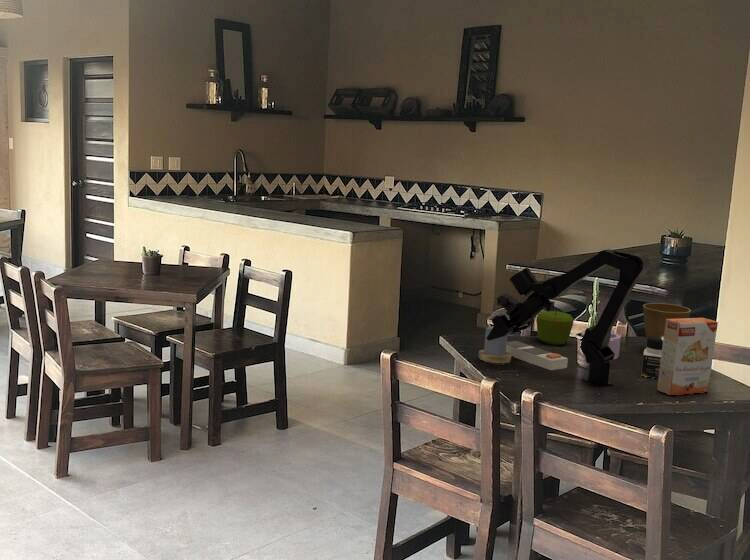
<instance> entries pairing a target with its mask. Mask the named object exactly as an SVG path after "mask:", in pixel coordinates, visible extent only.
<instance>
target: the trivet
mask: <svg viewBox="0 0 750 560" xmlns="http://www.w3.org/2000/svg"><path fill="white" fill-rule="evenodd" d="M478 358H479V359H480V360H483V361H485V362H484V363H486V362H491V363H502V364H501V365H505V364H504V363H508V364H510V363H511V362H512V356H511V354H510V353H508V352H506V354H504V355H501V356H499V357H498V356H493V355H489V354H484V349H480V350H479V351H478ZM479 359H478V360H479ZM480 360H479V361H480ZM491 363H490V364H491Z"/></svg>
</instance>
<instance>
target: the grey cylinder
mask: <svg viewBox="0 0 750 560" xmlns="http://www.w3.org/2000/svg"><path fill="white" fill-rule="evenodd" d="M492 328H493V325H492V326H489V327H486V328H485V337H484V349H483V350H484V354H489V355H493V356H498V357H499V356H501V355H504V354H506V347H507V342H508V336H509V334H508V335H507V336H503V337H500V338H496V339H493V340H489V341H488V340H487V336H488V335H489V333H490V332H491V330H492Z"/></svg>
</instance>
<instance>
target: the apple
mask: <svg viewBox="0 0 750 560" xmlns="http://www.w3.org/2000/svg"><path fill="white" fill-rule="evenodd" d="M535 321H536V329H537V330H536V331H537V337H538V339H539V340H540V341H542V342H543V343H545V344H549V345H553V346H562V345H564V344H565V343H567V342H568V341H569V340H570V336H571V332H572V328H573V327H574V326H573V325H574V317H573V316H572V314H569V313H567V312H564V311H563V312H562V311H557V310H552V311H547V310H546V311H541V312H540V313H538V314H537V317H536V320H535Z"/></svg>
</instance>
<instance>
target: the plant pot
mask: <svg viewBox="0 0 750 560" xmlns="http://www.w3.org/2000/svg"><path fill="white" fill-rule="evenodd" d="M691 311H692V310H691V309H690V308H688V307H685V306H682V305H679V304H678V305H677V304H672V303H660V302H651V303H650V302H649V303H644V304H643V305H642V313H643V324H644V332H645V338H646V339H647V338H648V337H649V336H662V337H664V331H665V323H666V319H679V318H690V315H691Z"/></svg>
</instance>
